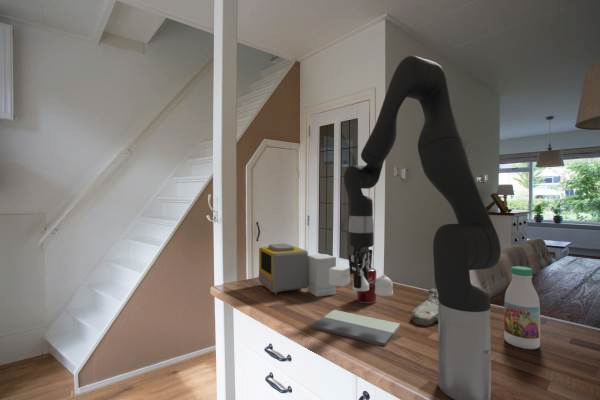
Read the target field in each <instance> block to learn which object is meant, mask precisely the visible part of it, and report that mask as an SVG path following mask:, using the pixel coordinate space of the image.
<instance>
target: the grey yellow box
mask: <svg viewBox="0 0 600 400" xmlns="http://www.w3.org/2000/svg"><path fill="white" fill-rule="evenodd" d="M308 255H309V253H308V250H307V249H306V250H305V249H303V248H301V247H298V246H294V245H291V244H288V243H273V244H272V243H271V244H268V246H260V247H259V248H258V282H259V283H260V284H261V285H263V286H264V288H266V289H268V290H269V291H270V292H271V293H274V295H276V296H277V295H278V293H279V292H280V293H281V292H286V291H287V292H288V291H294V290H295V291H296V290H297V291H298V292H302V290H303V289H308Z"/></svg>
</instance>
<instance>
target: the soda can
mask: <svg viewBox="0 0 600 400" xmlns="http://www.w3.org/2000/svg"><path fill="white" fill-rule="evenodd" d="M376 280H377V270H376V268H374V267H371V269H370V268H369V272H368V283H369V290H368V291H356V300H357V301H358V303H361V304H367V305H369V304H370V305H371V304H375V303H376V301H377V294H375V282H376Z"/></svg>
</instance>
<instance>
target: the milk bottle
mask: <svg viewBox="0 0 600 400" xmlns="http://www.w3.org/2000/svg"><path fill="white" fill-rule="evenodd" d="M510 273H511V276H512V277H511V282H510V283H509V285H508V287H507V289H506V291H505V294H504V301H503V302H504V306H503V307H504V308H503V309H504V310H503V311H504V312H503V313H504V314H503V316H504V317H503V318H504V319H503V320H504V321H503V324H504V325H503V326H504V327H503V329H504V331H503V334H504V335H503V337H504V340H505V342H506V343H507V344H510V345H512V346H513V347H515V348H516V347H517V348H521V349H525V350H536V349H539V347H540V346H541V307H540V305H541V303H540V299H539V295H538V292H537V291H536V289H535V287H534V284H533V282H532V281H533V280H532V278H533V269H532V268H530V267H527V266H521V265H518V266H516V265H515V266H511V268H510Z"/></svg>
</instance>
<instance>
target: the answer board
mask: <svg viewBox="0 0 600 400" xmlns="http://www.w3.org/2000/svg"><path fill="white" fill-rule="evenodd" d="M400 328H401V323H399V322H394V321H390V320H385V319H379V318H375V317H370V316H367V315H366V316H365V315H361V314H355V313H351V312H345V311H341V310H337V309H333V310H332V311H330V312H328V313H327V314H326V315H324V316H323V317H321V318H319V320H317V321H315V322H314V323H312V324H311V329H315V330H318V331H319V330H320V331H324V332H327V333H332V334H335V335H339V336H342V337H347V338H351V339H354V340H358V341H363V342H366V343H370V344H375V345H379V346H382V347H386V345H387V344H388V343H389V341H390V340H391V339H392V338H393V337H394V335H395V334H396V333H397V332H398V330H399V329H400Z"/></svg>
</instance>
